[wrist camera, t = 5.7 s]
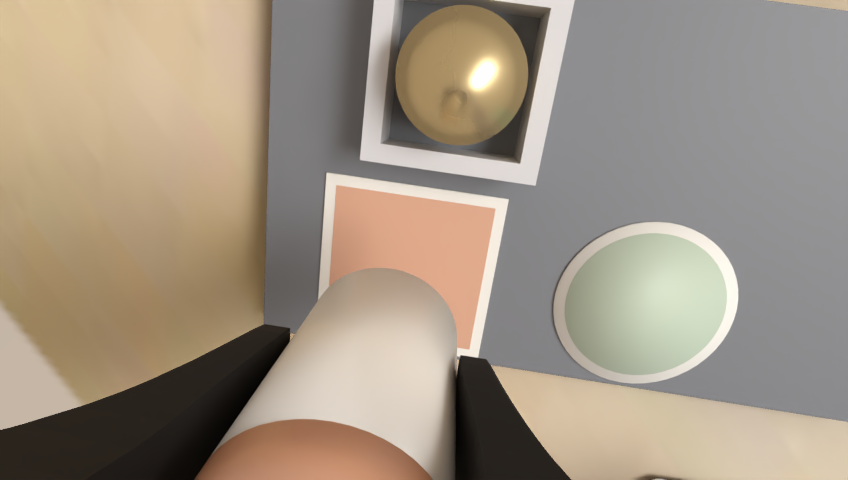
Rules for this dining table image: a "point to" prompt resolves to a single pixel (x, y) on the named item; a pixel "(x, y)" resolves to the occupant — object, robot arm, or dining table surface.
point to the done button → (461, 75)
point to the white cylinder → (354, 391)
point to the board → (587, 191)
